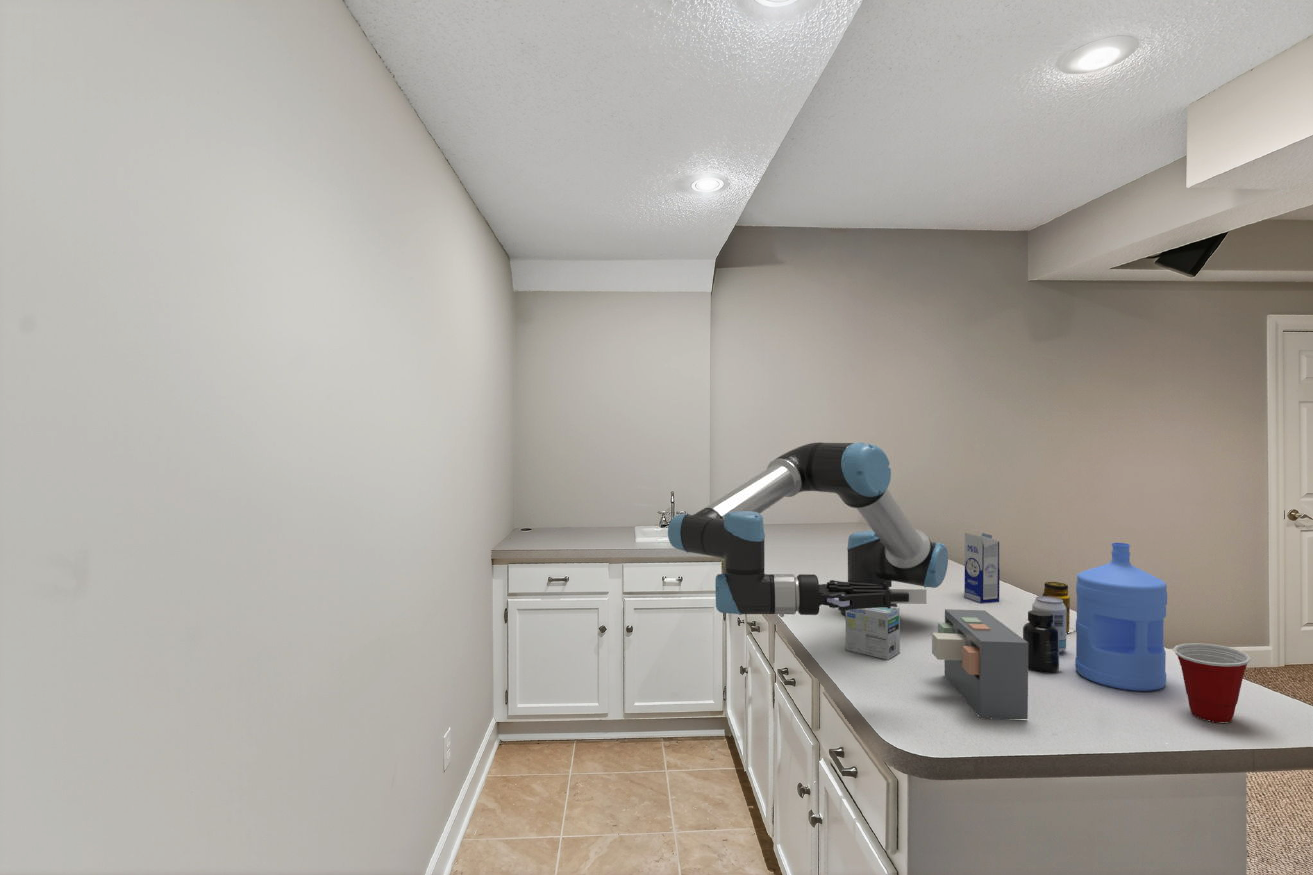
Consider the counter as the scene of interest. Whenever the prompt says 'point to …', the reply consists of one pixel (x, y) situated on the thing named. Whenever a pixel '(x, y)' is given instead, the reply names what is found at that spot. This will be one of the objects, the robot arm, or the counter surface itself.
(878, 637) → the light bulb box
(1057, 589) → the condiment
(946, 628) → the sage key
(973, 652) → the terracotta key
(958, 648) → the ivory key
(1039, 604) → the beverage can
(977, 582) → the milk carton
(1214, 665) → the plastic cup
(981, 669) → the key console
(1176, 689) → the counter surface
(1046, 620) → the supplement bottle
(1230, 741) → the counter surface
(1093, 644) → the water jug
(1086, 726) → the counter surface
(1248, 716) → the counter surface
